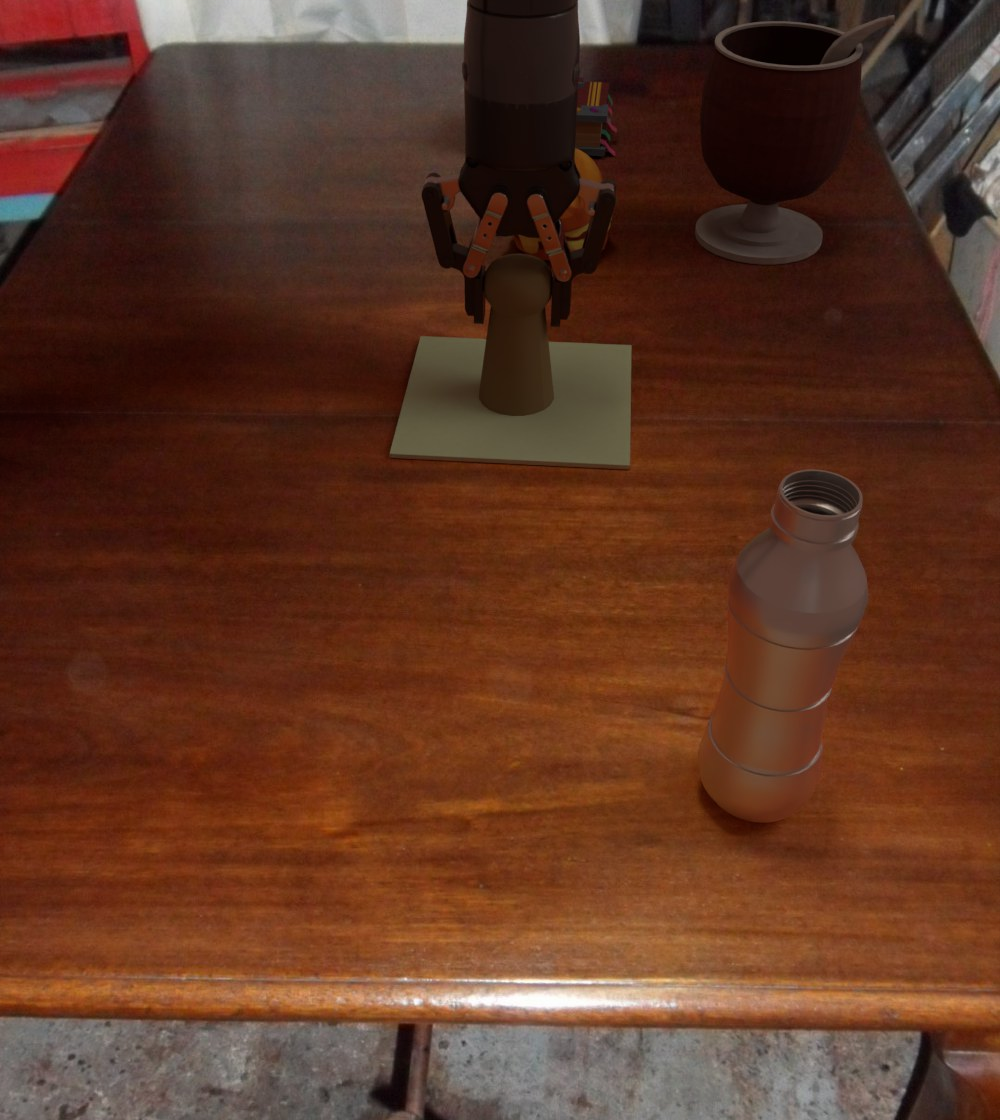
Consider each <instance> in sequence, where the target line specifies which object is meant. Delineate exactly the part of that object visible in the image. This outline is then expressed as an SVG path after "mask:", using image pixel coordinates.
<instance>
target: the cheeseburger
mask: <svg viewBox="0 0 1000 1120" xmlns="http://www.w3.org/2000/svg"><path fill="white" fill-rule="evenodd" d="M575 164H576V167H577V169H578V171H579V173H580V177H581V178H583V179H587V180H590V181H594V182H598V183H601V182H602V181H603V180H604V178H603V176H602V175H603V174H602V173H601V171H600V168H599V166H598V165H597V164H596V162H595V161H594V159H593V158H592V157H590V156H588V155H587V154H586V153H584V152H582V151H581V150H579V149H575ZM617 204H619V202H618V200H616V204H615V205H617ZM560 218H561V221H562V224H563V227H564V231H565V236H566V239H567V242H568V245H569V248H570V251H575V250H578V249H581V248H582V246H583V242H584V239H585V235H586V232H587V228H588V225H589V221H590V218H591V217H590V216H588V215H586V214H585V212H584V202H583V200H582V198H580V197H579V196H577V197H576V198H575V200H574V201H573V202H572V203H571V205H570V206H569V207H568V208H567V210H566V211H565V212H564V213H563V215H562V216H561V217H560ZM612 220H613V216H612V217H611V221H612ZM611 227H612V226H611V223H610V224H609V228H608V231H607V234H606V238H605V241H604V244H603V248H602V251H604V250H605V248H606V244H607V243H608V238H609V235H610V231H611ZM512 237H513V240H514V244H515V245H516V248H517V249H519V250H520V251H521V252H523V254H528V255H532V256H535V257H538V258H539V259H541V260H543V261H547V262H550V260H549V257H548V255H546V253H545V250H544V247H543V245H542V242H541V239H540V238H528V237H525V236H522V235H519V234H517V235H512Z"/></svg>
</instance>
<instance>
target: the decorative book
mask: <svg viewBox="0 0 1000 1120" xmlns="http://www.w3.org/2000/svg"><path fill="white" fill-rule="evenodd" d="M609 90H610V82H608V81H607V82H605V81H604V82H603V81H584V78H583V77H579V80H578V98H577V119H576V139H575V149H579V150H581V151H582V152H584V153H586V154H587V155H588V156H589V157H590V156H592V157H605V156H606V149H607V151H608V152H609V153H610V154H611V155H612V156H613V157H616V153H617V152H616V150H614V149H613V148H611V147H610V145H609V144H608V142H607V139H608V141H609V142H610V141H611V135H610V134H609V132H608V131H607V124H608V126H609V128H610V129H611V130H612V131H613V132H614V133H615V134H617V132H618V128H617V127H616V126H615V125H613V124H612V118H610V117H609V116H608V114H609V113H610V114H611V115H613V109H612V108H611V107H610V106H609V102H610V105H611V106H613V104H614V103H613V99H612V97H611V95H610V94H609Z"/></svg>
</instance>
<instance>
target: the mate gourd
mask: <svg viewBox="0 0 1000 1120" xmlns="http://www.w3.org/2000/svg"><path fill="white" fill-rule="evenodd" d="M895 24H896V15H895V14H890V15H887V16H882V17H878V18H876V19H873V20H870V21H868V22H865V23H863V24H860V25H857V26H855V27H853V28H851V29H849V30H848V31H842V30H839V29H836V28H833V27H828V26H825V25H819V24H814V23H807V22H800V21H786V20H785V21H784V20H783V21H781V20H774V21H773V20H768V21H767V20H766V21H753V22H747V23H742V24H737V25H734V26H731V27H730V26H729V27H728V28H725V29H724V30H722V31H720V32H718V34H717V35H716V36H715V38H714V46H713V49H712V52H711V54H710V59H709V63H708V66H707V70H706V74H705V78H704V82H703V86H702V93H701V94H702V95H701V103H700V112H699V121H700V122H699V126H700V127H699V128H700V129H699V132H700V135H699V136H700V146H701V154H702V158H703V161H704V163H705V165H706V167H707V168H708V170H709V171H710V174H711V175H712V177H713V179H714V180H715V182H716V184H717V185H718V186H719V187H721V188H722V189H723V190H725V191H727V192H728V193H731V194H733V195H736V196H738V197H741V198H743V199H746V200H748V203H742V204H729V205H724V206H721V207H716V208H714V209H711V210H709V211H706V212H705V213H704V214H702V215H701V216H700V217H699V218H698V219H697V220H696V222H695V229H694V236H695V240H696V241H697V242H698V244H699V245H700V246H701V247H702V248H704V249H705V250H706V251H708V252H710V253H711V254H713V255H716V256H717V257H721V258H723V259H726V260H731V261H734V262H738V263H743V264H751V265H762V266H763V265H765V266H767V265H769V266H770V265H774V266H775V265H785V264H791V263H797V262H800V261H803V260H806V259H808V258H809V257H811V256H813V255H814V254H816V253H817V252H818V251H819V250H820V248H821V246H822V244H823V235H824V234H823V230H822V227H820V225H819V224H818V223H817V222H816V221H815V220H813V219H811V218H810V217H809V216H807V215H806V214H803V213H801V212H798V211H795V210H793V209H790V208H785V207H781V206H779V205H778V203H783V202H787V201H792V200H797V199H802V198H805V197H807V196H810V195H812V194H813V193H815V192H816V191H817V190H819V189H820V187H821V186H822V185H824V183H825V182H826V181H827V180H828V179H829V178H830V177H831V176H833V174H834V173H835V172H836V171H837V169H838V168H839V166H840V164H841V162H842V160H843V157H844V155H845V152H846V151H847V148H848V145H849V142H850V139H851V136H852V133H853V130H854V128H855V124H856V119H857V114H858V108H859V103H860V99H861V88H862V87H861V86H862V73H863V71H862V55H863V52H864V46H863V44H862V42H863V41H864V40H865V39H867V38H868V37H869V36H871V35H872V34H874V33H875V32H877V31H879V30H881V29H883V28H885V27H892V26H895Z"/></svg>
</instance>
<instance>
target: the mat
mask: <svg viewBox="0 0 1000 1120" xmlns="http://www.w3.org/2000/svg"><path fill="white" fill-rule="evenodd" d="M485 345H486V338H477V337H476V338H475V337H451V336H429V335H420V337H419V340H418V343H417V348H416V351H415V355H414V360H413V363H412V366H411V371H410V374H409V377H408V383H407V386H406V389H405V392H404V397H403V401H402V403H401V404H402V405H401V408H400V412H399V416H398V420H397V423H396V428H395V431H394V435H393V439H392V442H391V446H390V450H389V458H390V459H404V460H425V461H444V462H445V461H447V462H466V463H468V462H469V463H488V464H504V465H505V464H508V465H509V464H510V465H528V466H547V467H548V466H550V467H568V468H569V467H570V468H586V469H587V468H589V469H591V468H592V469H606V470H607V469H608V470H609V469H610V470H629V471H630V469H631V432H632V431H631V429H632V427H631V426H632V425H631V424H632V421H631V419H632V352H633V351H632V348H633V346H632V344H614V343H592V342H588V343H587V342H568V341H549V351H550V361H551V371H552V381H553V391H554V400H553V402H552V404H551V405H550V406H549V407H547V408H546V409H545V410H543V411H540V412H538V413H535V414H530V415H525V416H510V415H504V414H499V413H496V412H494V411H491V410H489V409H488V408H486V407H485V406H484V405H483V404H482V403H481V401H480V400H479V389H480V382H481V374H482V367H483V360H484V352H485Z"/></svg>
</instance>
